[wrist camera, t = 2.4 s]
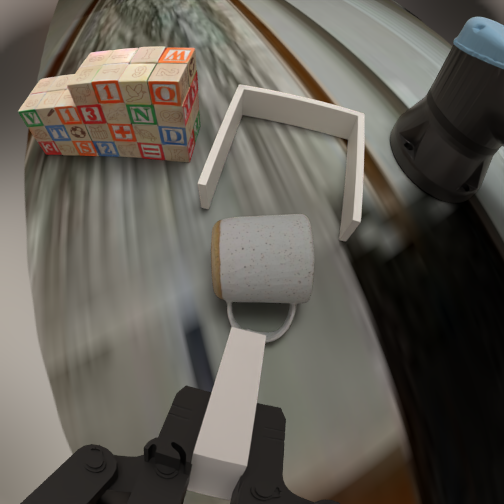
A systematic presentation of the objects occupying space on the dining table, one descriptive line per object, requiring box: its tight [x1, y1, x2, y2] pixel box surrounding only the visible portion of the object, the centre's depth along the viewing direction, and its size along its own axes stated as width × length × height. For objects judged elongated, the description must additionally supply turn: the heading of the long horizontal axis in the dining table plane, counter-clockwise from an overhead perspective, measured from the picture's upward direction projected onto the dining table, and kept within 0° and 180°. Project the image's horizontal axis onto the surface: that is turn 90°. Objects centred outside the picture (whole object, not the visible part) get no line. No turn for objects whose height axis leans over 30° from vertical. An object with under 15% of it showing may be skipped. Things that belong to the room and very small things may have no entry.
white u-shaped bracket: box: [198, 84, 364, 242], centre depth 34 cm, size 16×16×4 cm
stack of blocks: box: [18, 46, 200, 162], centre depth 31 cm, size 21×6×12 cm, turn 83°
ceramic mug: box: [211, 214, 314, 343], centre depth 27 cm, size 11×8×8 cm
